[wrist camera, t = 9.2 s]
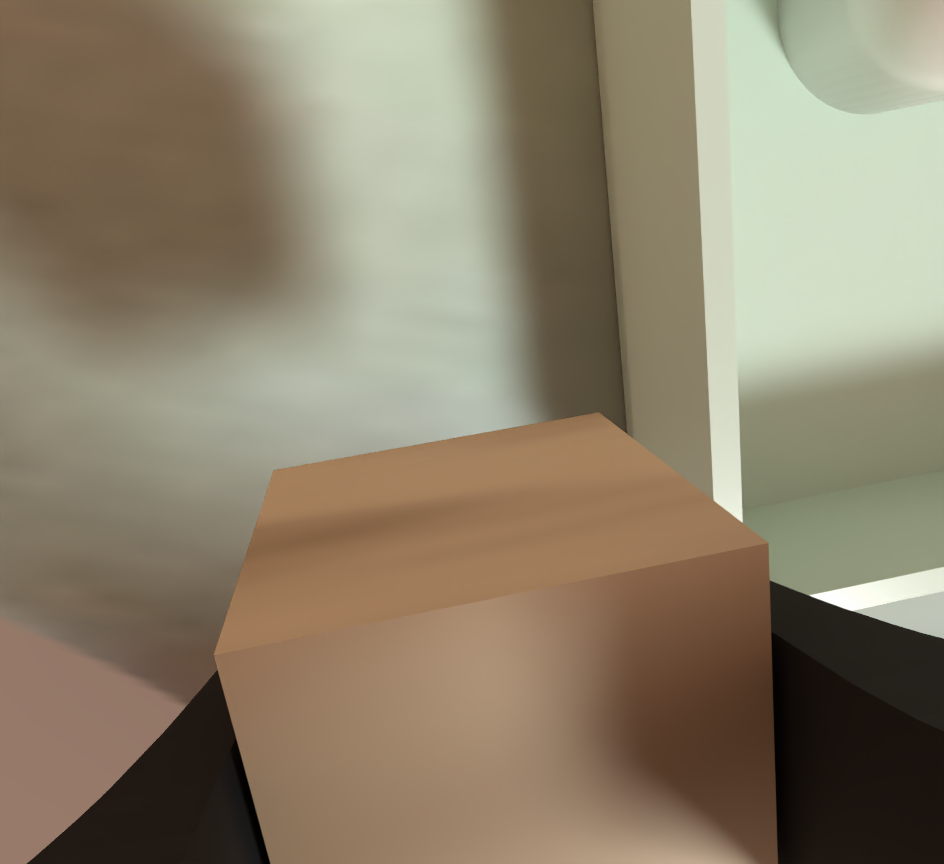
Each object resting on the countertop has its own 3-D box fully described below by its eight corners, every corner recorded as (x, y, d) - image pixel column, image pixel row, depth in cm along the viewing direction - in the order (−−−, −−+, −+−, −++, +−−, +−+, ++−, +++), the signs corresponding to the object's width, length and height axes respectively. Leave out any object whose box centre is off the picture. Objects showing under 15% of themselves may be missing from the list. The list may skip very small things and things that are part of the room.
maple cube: (625, 687, 13) (780, 954, 8) (337, 750, 13) (326, 1074, 8) (598, 411, 12) (768, 542, 7) (273, 469, 11) (213, 654, 6)
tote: (1064, 457, 22) (1257, 523, 17) (635, 542, 21) (720, 639, 16) (1135, -250, 17) (1435, -428, 12) (576, -201, 16) (673, -380, 11)
